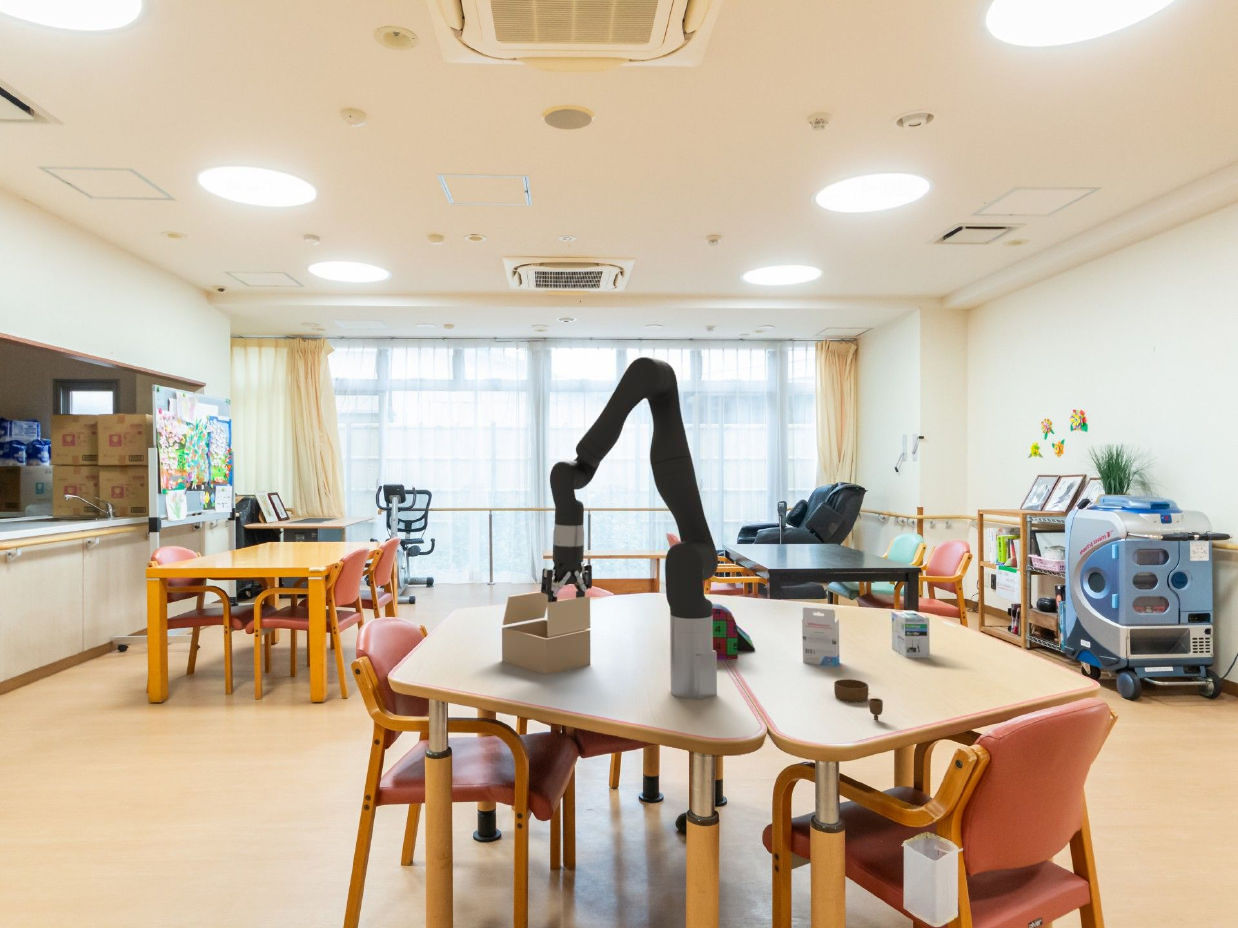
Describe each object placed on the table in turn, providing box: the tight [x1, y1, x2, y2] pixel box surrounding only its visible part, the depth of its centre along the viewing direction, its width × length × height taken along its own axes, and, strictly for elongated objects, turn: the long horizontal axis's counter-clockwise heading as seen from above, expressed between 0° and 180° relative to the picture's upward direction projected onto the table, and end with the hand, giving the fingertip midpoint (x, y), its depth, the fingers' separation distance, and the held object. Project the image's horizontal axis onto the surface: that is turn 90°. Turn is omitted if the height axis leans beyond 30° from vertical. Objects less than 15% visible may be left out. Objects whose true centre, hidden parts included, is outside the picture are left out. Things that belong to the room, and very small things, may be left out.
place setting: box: [833, 678, 884, 721], centre depth 153 cm, size 18×20×6 cm
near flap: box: [546, 595, 591, 637], centre depth 178 cm, size 8×13×1 cm
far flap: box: [502, 590, 548, 626], centre depth 191 cm, size 8×13×1 cm
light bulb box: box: [890, 609, 931, 659], centre depth 198 cm, size 11×7×11 cm, turn 179°
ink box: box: [801, 606, 840, 667], centre depth 187 cm, size 9×5×15 cm, turn 62°
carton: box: [501, 619, 591, 675], centre depth 185 cm, size 18×14×10 cm
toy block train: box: [712, 603, 756, 660], centre depth 203 cm, size 25×17×14 cm
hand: (566, 608), depth 179 cm, fingers open, 8 cm apart
